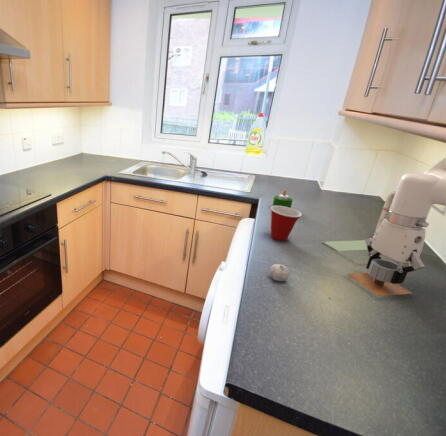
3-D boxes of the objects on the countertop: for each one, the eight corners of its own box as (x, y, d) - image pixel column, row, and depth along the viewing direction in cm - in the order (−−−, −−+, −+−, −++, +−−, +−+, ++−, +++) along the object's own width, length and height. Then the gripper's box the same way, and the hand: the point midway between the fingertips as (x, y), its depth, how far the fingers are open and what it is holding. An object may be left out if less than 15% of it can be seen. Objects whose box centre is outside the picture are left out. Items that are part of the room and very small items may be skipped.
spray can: (366, 236, 121) (383, 189, 113) (386, 237, 120) (405, 189, 113) (382, 245, 113) (402, 195, 105) (404, 246, 112) (425, 196, 105)
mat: (368, 240, 117) (369, 239, 117) (410, 261, 102) (410, 260, 102) (322, 242, 114) (322, 241, 114) (357, 264, 100) (358, 262, 100)
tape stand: (377, 274, 94) (381, 262, 92) (412, 295, 84) (418, 282, 82) (345, 276, 93) (349, 264, 91) (378, 298, 82) (383, 284, 81)
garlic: (287, 286, 87) (291, 271, 85) (267, 281, 89) (270, 266, 87) (287, 276, 92) (291, 262, 90) (268, 271, 94) (272, 257, 92)
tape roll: (382, 269, 90) (386, 257, 89) (405, 282, 84) (410, 270, 82) (361, 270, 90) (365, 259, 88) (383, 284, 83) (388, 271, 82)
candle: (268, 207, 151) (273, 188, 147) (276, 204, 156) (281, 186, 152) (285, 212, 145) (290, 192, 141) (293, 209, 150) (298, 190, 146)
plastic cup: (295, 246, 111) (304, 216, 106) (264, 240, 115) (270, 211, 111) (293, 235, 120) (301, 207, 116) (264, 230, 124) (270, 203, 120)
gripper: (454, 231, 72) (426, 292, 79) (387, 208, 89) (368, 260, 95) (427, 233, 72) (401, 294, 78) (364, 209, 88) (347, 261, 94)
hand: (383, 275), depth 87 cm, fingers closed on tape roll, 7 cm apart
